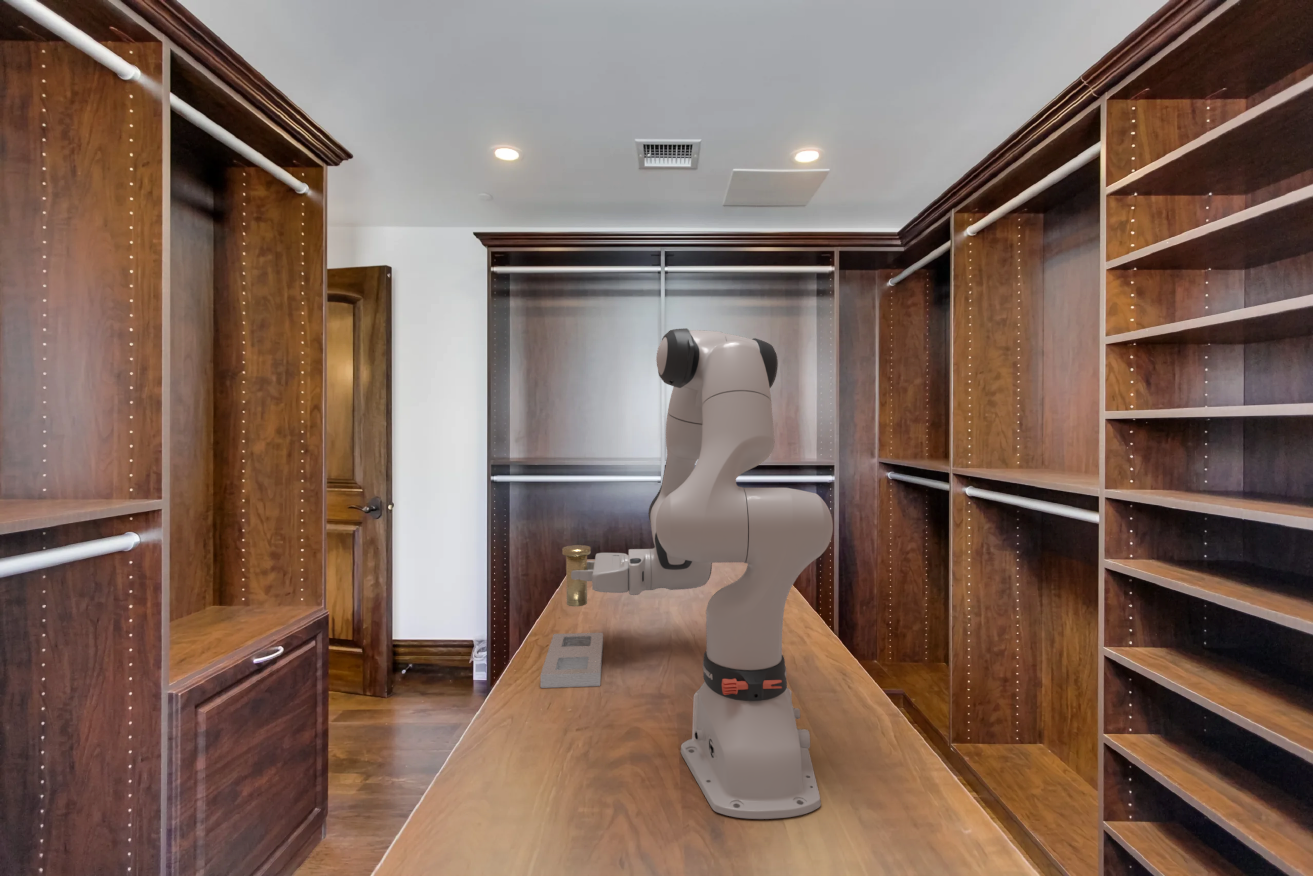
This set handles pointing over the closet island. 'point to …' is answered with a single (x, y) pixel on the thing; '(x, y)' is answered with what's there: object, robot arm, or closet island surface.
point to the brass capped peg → (575, 560)
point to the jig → (573, 661)
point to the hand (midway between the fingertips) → (572, 571)
